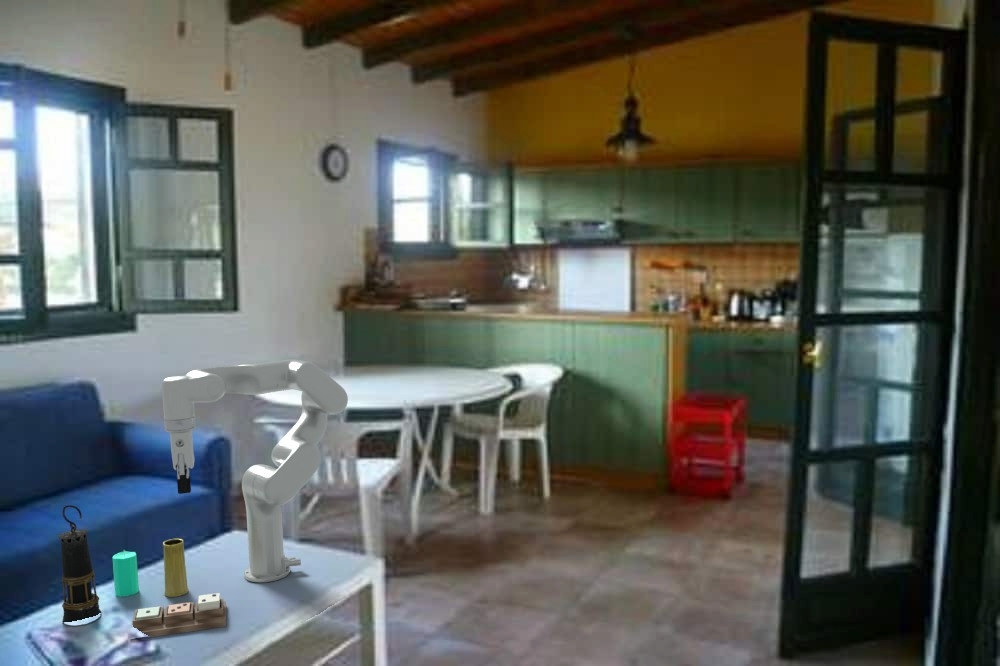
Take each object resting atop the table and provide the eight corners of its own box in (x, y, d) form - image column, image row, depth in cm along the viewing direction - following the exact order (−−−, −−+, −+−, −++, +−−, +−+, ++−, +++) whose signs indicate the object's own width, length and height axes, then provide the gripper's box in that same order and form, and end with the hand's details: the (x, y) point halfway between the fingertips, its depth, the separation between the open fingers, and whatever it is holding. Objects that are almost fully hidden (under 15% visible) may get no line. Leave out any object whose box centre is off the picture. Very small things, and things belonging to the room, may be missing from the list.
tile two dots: (220, 601, 225) (219, 592, 225) (219, 609, 220) (219, 599, 220) (199, 604, 224) (198, 594, 223) (198, 612, 219) (198, 602, 219)
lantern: (83, 608, 230) (74, 496, 226) (110, 613, 227) (101, 500, 223) (54, 622, 222) (44, 507, 218) (81, 628, 218) (71, 511, 215)
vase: (193, 589, 241) (190, 539, 239) (178, 598, 235) (174, 547, 233) (174, 586, 243) (171, 537, 241) (159, 595, 237) (155, 544, 235)
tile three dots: (190, 611, 223) (190, 601, 223) (189, 619, 219) (189, 609, 218) (169, 614, 222) (169, 604, 222) (168, 622, 217) (167, 612, 217)
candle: (130, 597, 237) (127, 554, 235) (110, 595, 238) (107, 553, 236) (143, 588, 242) (140, 546, 241) (124, 586, 244) (120, 545, 242)
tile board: (226, 606, 229) (225, 593, 229) (225, 626, 218) (224, 612, 217) (135, 619, 223) (134, 605, 223) (129, 639, 212) (128, 626, 211)
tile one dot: (160, 615, 221) (159, 605, 221) (158, 624, 217) (157, 613, 216) (138, 618, 220) (138, 608, 220) (136, 626, 215) (136, 616, 215)
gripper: (194, 429, 223) (198, 499, 226) (196, 417, 238) (200, 483, 240) (162, 431, 221) (167, 502, 224) (166, 419, 236) (171, 486, 238)
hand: (184, 492), depth 232 cm, fingers closed
